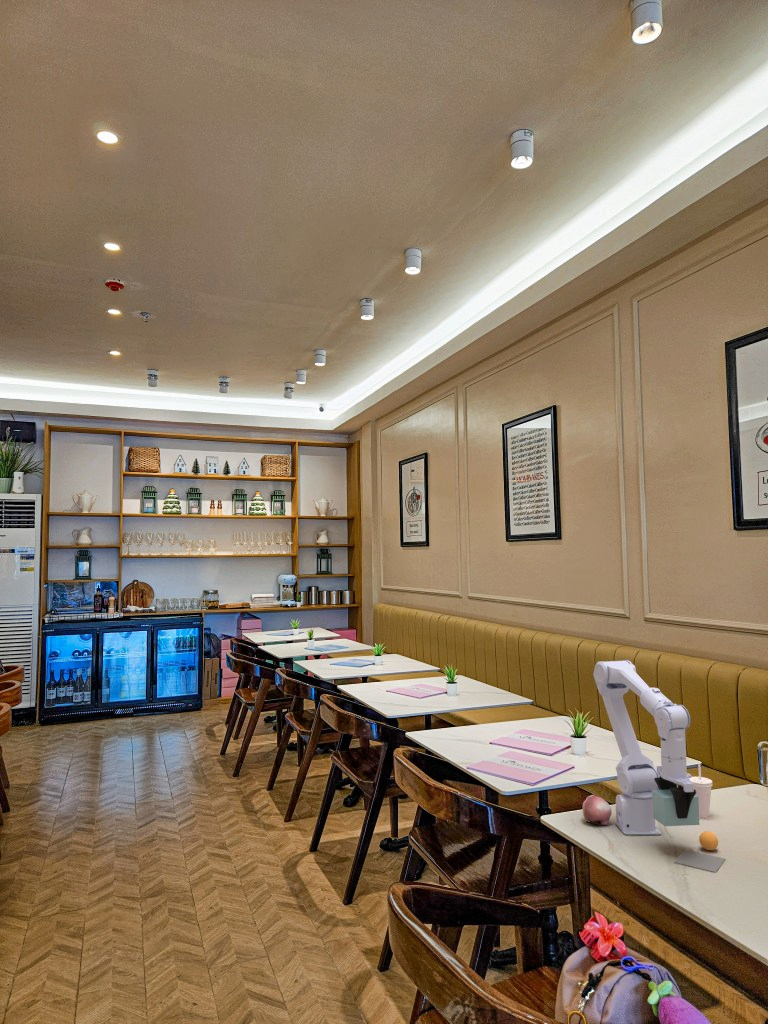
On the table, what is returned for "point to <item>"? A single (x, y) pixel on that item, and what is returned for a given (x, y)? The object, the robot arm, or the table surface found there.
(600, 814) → the onion
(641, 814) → the robot arm
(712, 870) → the tape square
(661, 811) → the light blue upright block
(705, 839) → the ball
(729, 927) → the table surface
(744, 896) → the table surface
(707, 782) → the smoothie
